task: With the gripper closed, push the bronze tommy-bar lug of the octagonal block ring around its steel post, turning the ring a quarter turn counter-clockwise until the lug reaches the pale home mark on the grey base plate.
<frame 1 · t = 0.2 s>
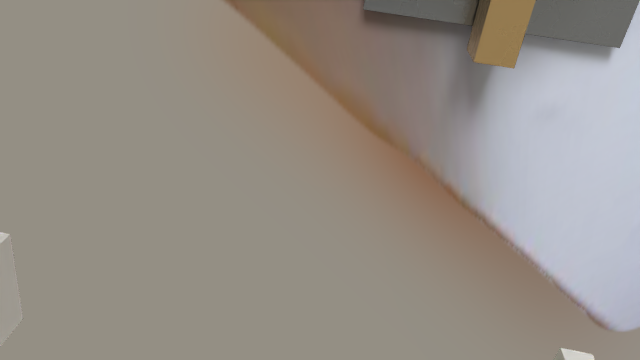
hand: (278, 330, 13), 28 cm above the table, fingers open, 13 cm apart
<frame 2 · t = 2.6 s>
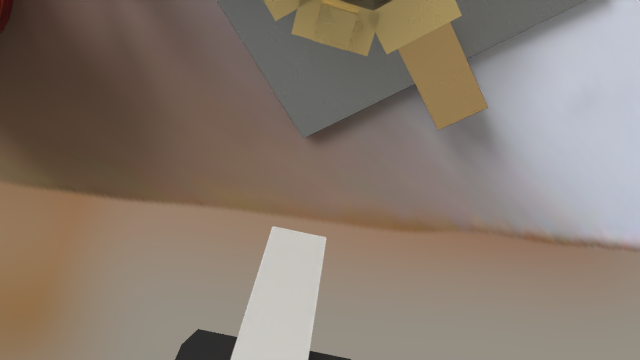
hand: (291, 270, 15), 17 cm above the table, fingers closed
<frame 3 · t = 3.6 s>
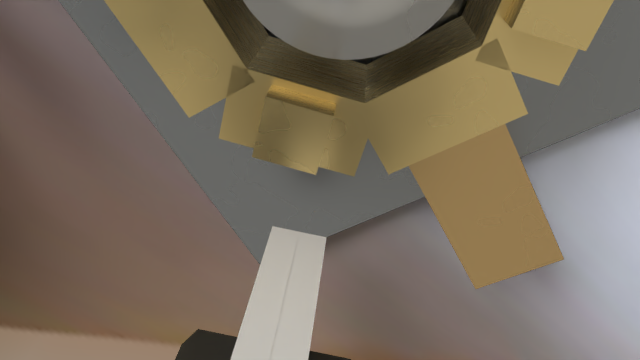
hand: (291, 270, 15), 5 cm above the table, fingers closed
octagonal block ring: (395, 15, 12), point 3 cm above the table, hinge at 0.0°
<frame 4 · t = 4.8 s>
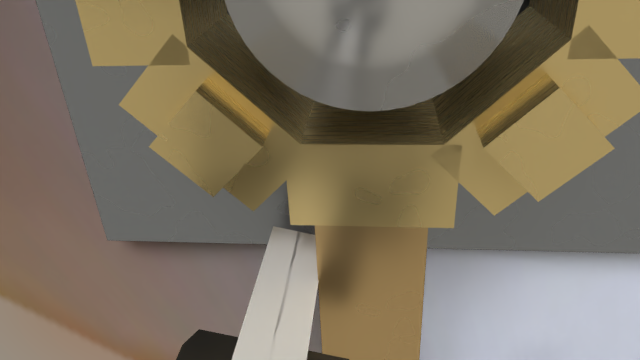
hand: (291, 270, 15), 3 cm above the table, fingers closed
octagonal block ring: (372, 67, 11), point 3 cm above the table, hinge at 0.0°, touching gripper
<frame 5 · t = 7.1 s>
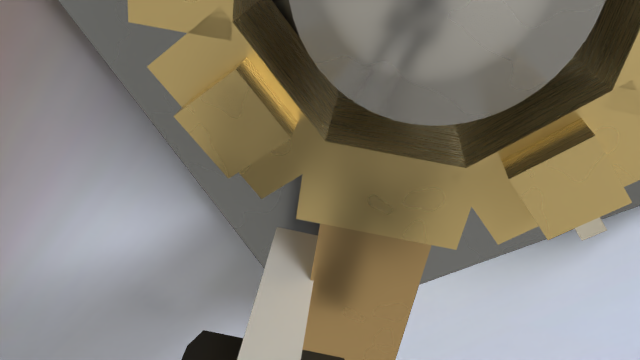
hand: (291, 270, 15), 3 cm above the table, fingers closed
octagonal block ring: (408, 78, 11), point 3 cm above the table, hinge at 50.6°, touching gripper
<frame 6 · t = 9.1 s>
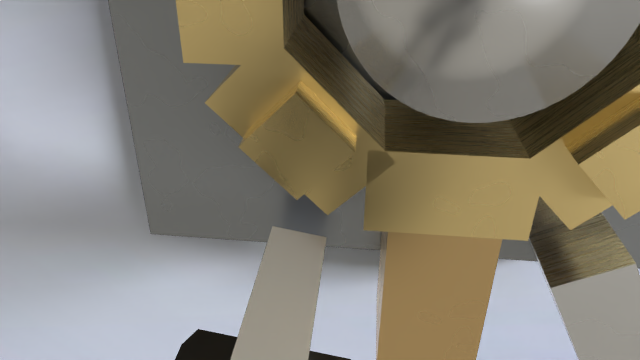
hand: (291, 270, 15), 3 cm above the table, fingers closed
octagonal block ring: (458, 78, 11), point 3 cm above the table, hinge at 90.2°
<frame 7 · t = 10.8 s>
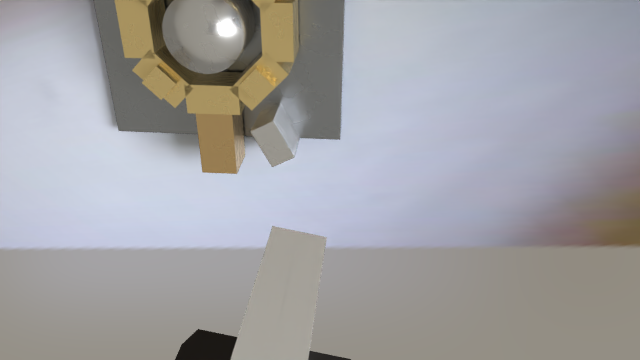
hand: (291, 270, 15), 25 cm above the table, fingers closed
grey base plate: (221, 17, 36), on the table
octagonal block ring: (213, 62, 34), point 3 cm above the table, hinge at 90.2°
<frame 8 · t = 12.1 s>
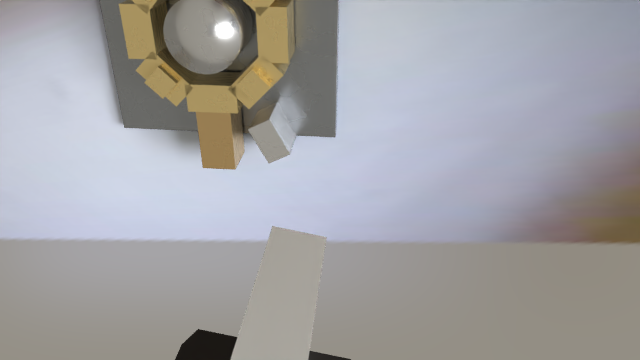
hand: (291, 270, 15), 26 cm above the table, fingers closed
grey base plate: (221, 19, 38), on the table
octagonal block ring: (212, 62, 36), point 3 cm above the table, hinge at 90.2°
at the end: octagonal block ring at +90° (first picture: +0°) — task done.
